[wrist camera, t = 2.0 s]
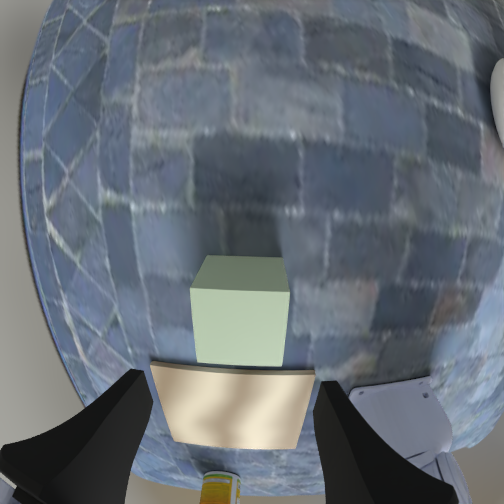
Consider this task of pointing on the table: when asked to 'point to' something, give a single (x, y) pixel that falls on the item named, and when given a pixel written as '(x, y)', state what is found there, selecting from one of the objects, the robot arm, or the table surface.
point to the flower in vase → (498, 97)
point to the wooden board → (233, 405)
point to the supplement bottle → (220, 488)
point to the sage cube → (240, 310)
